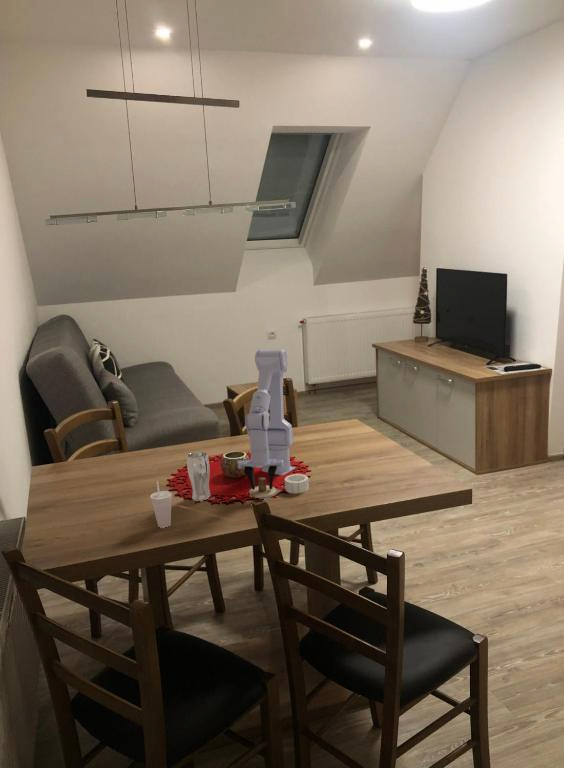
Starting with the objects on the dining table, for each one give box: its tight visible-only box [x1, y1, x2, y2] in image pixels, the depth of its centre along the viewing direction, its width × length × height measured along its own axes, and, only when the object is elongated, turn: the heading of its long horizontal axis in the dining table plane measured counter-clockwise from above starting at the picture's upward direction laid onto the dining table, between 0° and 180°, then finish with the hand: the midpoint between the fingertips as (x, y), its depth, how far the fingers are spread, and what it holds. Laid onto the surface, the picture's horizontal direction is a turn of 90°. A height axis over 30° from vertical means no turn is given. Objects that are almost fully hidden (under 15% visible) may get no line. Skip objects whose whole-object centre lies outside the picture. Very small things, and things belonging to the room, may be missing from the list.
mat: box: [259, 488, 283, 502], centre depth 207 cm, size 9×9×1 cm
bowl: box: [284, 473, 310, 495], centre depth 208 cm, size 8×8×4 cm
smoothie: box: [149, 480, 173, 529], centre depth 187 cm, size 6×6×14 cm
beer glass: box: [186, 451, 212, 502], centre depth 205 cm, size 7×7×15 cm
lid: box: [248, 477, 276, 499], centre depth 206 cm, size 9×9×5 cm
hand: (262, 488), depth 206 cm, fingers open, 5 cm apart
